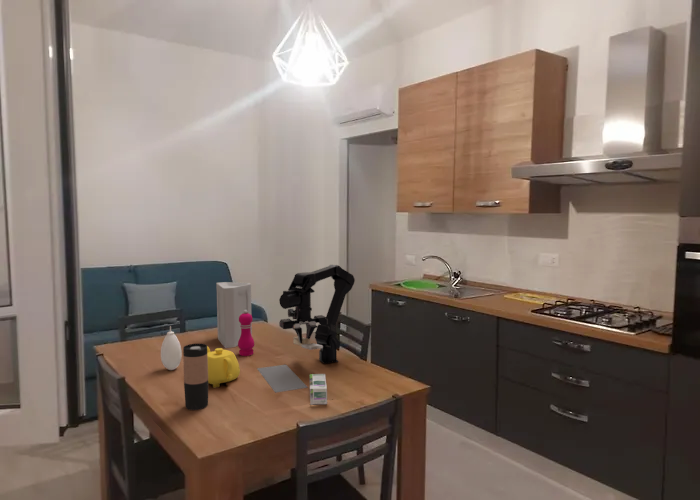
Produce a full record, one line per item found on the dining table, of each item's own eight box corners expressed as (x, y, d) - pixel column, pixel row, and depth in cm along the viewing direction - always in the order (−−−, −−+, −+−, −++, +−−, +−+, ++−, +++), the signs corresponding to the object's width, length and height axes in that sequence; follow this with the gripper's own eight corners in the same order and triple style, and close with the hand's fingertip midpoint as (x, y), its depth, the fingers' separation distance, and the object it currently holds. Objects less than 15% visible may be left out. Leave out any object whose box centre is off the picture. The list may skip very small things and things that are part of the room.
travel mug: (187, 401, 166) (186, 343, 165) (211, 400, 167) (209, 343, 165) (182, 410, 159) (180, 350, 157) (206, 410, 160) (204, 349, 158)
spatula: (301, 342, 209) (301, 336, 209) (322, 348, 187) (322, 340, 187) (290, 344, 207) (290, 337, 207) (310, 349, 185) (309, 342, 185)
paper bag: (256, 344, 236) (255, 286, 233) (224, 348, 230) (223, 288, 227) (246, 334, 253) (245, 280, 251) (217, 338, 247) (216, 282, 244)
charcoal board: (286, 367, 202) (285, 364, 202) (308, 390, 176) (308, 387, 176) (256, 371, 197) (256, 368, 197) (275, 395, 172) (275, 392, 171)
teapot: (214, 393, 174) (213, 357, 173) (188, 378, 189) (187, 346, 188) (247, 383, 184) (247, 350, 182) (221, 370, 198) (220, 339, 197)
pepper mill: (250, 356, 216) (249, 311, 214) (235, 355, 218) (234, 311, 216) (257, 352, 223) (256, 308, 221) (242, 351, 225) (241, 307, 223)
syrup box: (325, 373, 178) (327, 387, 163) (325, 389, 178) (327, 404, 164) (309, 374, 177) (309, 388, 163) (309, 390, 178) (310, 405, 163)
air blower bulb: (185, 369, 200) (184, 325, 198) (167, 374, 194) (165, 329, 192) (176, 365, 205) (174, 322, 203) (157, 369, 199) (156, 325, 198)
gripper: (317, 299, 208) (318, 335, 210) (275, 303, 200) (275, 340, 202) (328, 304, 198) (328, 342, 200) (283, 308, 190) (284, 347, 192)
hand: (304, 342), depth 199 cm, fingers closed on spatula, 2 cm apart
